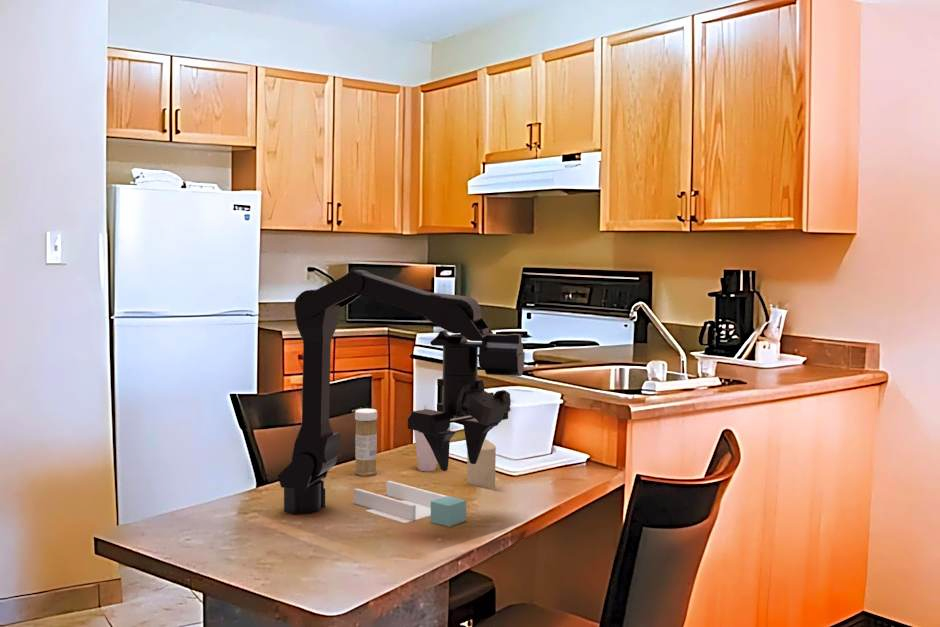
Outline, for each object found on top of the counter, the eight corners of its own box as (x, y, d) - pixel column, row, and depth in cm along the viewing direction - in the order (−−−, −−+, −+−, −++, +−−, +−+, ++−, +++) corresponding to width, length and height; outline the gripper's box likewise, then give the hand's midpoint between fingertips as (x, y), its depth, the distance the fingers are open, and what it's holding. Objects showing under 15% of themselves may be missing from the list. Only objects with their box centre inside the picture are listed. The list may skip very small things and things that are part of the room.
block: (430, 530, 153) (448, 535, 150) (430, 501, 152) (449, 506, 150) (447, 524, 156) (465, 529, 154) (448, 496, 156) (466, 500, 153)
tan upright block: (499, 491, 178) (500, 441, 177) (473, 494, 176) (473, 442, 175) (488, 484, 183) (489, 435, 182) (462, 487, 181) (463, 437, 180)
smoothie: (408, 466, 197) (409, 402, 196) (437, 464, 199) (438, 401, 198) (416, 473, 191) (416, 407, 190) (445, 471, 193) (446, 406, 192)
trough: (404, 531, 152) (404, 508, 152) (346, 513, 162) (346, 490, 162) (454, 516, 161) (454, 494, 160) (396, 500, 171) (396, 478, 170)
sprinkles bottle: (369, 470, 193) (369, 407, 192) (381, 474, 190) (381, 410, 189) (350, 473, 190) (350, 409, 190) (362, 477, 187) (362, 412, 186)
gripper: (456, 384, 138) (455, 486, 139) (534, 373, 151) (532, 466, 153) (405, 376, 145) (404, 473, 146) (483, 366, 159) (482, 455, 160)
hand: (458, 467), depth 151 cm, fingers open, 7 cm apart
